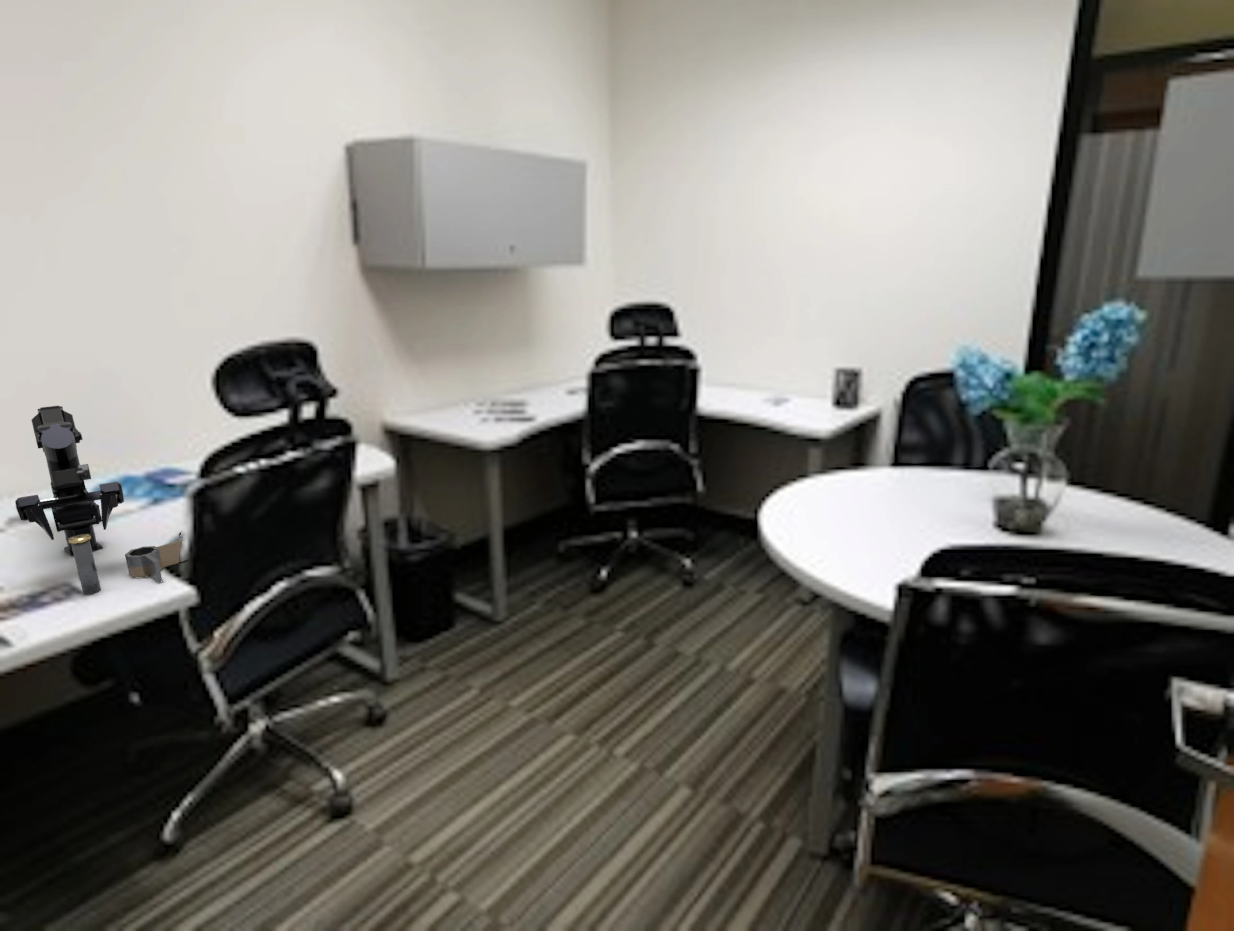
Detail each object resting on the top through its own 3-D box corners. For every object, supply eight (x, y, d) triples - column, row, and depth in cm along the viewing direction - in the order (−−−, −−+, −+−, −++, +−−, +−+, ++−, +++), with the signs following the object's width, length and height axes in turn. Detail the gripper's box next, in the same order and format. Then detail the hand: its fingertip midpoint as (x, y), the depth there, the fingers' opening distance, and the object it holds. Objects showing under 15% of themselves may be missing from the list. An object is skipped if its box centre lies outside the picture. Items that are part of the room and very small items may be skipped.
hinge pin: (79, 592, 156) (65, 538, 153) (99, 585, 159) (87, 532, 156) (84, 597, 154) (71, 542, 151) (105, 590, 157) (92, 536, 153)
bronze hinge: (126, 572, 166) (122, 552, 164) (182, 556, 174) (178, 536, 173) (145, 587, 158) (140, 566, 157) (202, 569, 167) (198, 549, 165)
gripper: (5, 461, 152) (17, 526, 146) (112, 446, 163) (127, 506, 157) (15, 488, 160) (27, 551, 155) (116, 472, 171) (131, 530, 165)
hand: (79, 533), depth 158 cm, fingers open, 9 cm apart
